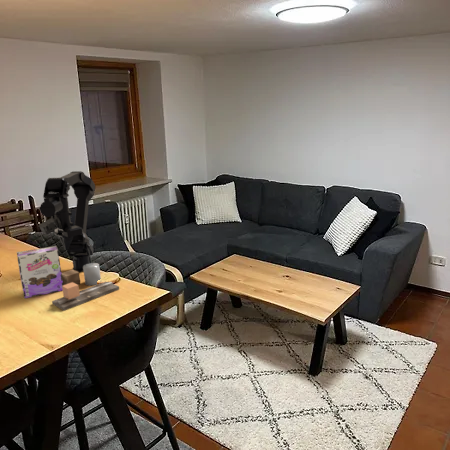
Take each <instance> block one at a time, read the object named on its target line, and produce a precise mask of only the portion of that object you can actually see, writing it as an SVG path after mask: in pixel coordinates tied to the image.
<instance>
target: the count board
mask: <svg viewBox="0 0 450 450" xmlns="http://www.w3.org/2000/svg"><path fill="white" fill-rule="evenodd" d="M119 290H120V286H119V285H117V284H115V283H113V281H108V282H106V281H104V282H101V283H99V284H97V285H92V286H90V287H87V288H84V289H82V290H79V293H80V296H77V297H75V298H72V299H67V298H65V297H64V296H63V297H60V298H57V299H55V300H52V301H51V302H52V305H53V306H55V307H57V308H58V309H60V310H62V311H66V310H67V311H68V310H70V309H73V308H74V307H77V306H79V305H82V304H85V303H88V302H90V301H92V300H95V299H98V298H101V297H103V296H106V295H108V294H111V293H114V292H116V291H119Z"/></svg>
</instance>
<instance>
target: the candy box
mask: <svg viewBox="0 0 450 450" xmlns="http://www.w3.org/2000/svg"><path fill="white" fill-rule="evenodd" d="M59 253H60V252H59V250H58V245H52V246H48V247H41V248H36V249H35V248H33V249H30V250H22V251H16V255H17V256H16V257H17V262H18V263H17V264H18V270H19V271H18V272H19V277H20V282H21V288H22V292H23V293H22V294H23V298H24V299H28V298H29V299H30V298H32V297H38V296H42V295H47V294H52V293H56V292H57V293H58V292H61V291H62V292H63V290H62V286H63V281H62V274H61V273H62V268H61V263H60V262H61V261H60V255H59Z"/></svg>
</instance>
